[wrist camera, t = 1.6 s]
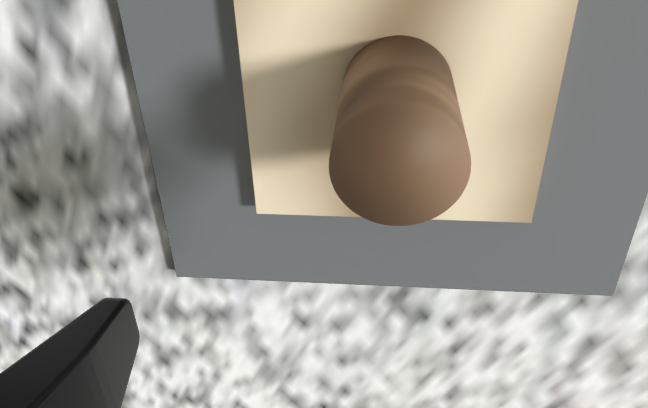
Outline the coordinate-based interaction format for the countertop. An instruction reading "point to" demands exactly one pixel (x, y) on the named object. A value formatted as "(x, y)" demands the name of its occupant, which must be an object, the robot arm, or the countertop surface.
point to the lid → (401, 105)
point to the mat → (377, 239)
